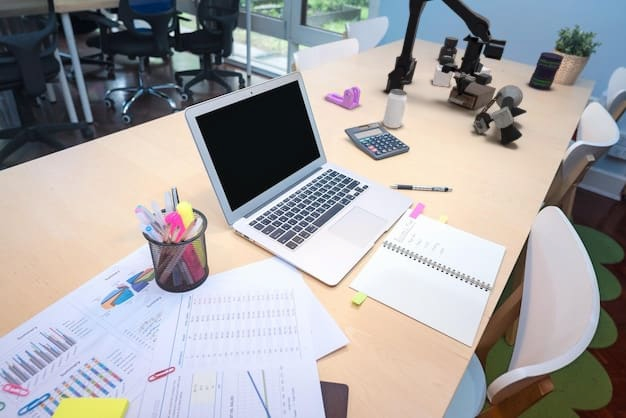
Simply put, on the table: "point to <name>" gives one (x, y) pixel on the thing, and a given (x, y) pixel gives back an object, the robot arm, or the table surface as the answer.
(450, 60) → the medicine bottle
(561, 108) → the table surface
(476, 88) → the organizer
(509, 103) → the abstract shape sculpture
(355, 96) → the bracket
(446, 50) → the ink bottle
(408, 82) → the pen holder
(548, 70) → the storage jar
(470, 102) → the drawer
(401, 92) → the can
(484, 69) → the white cube
